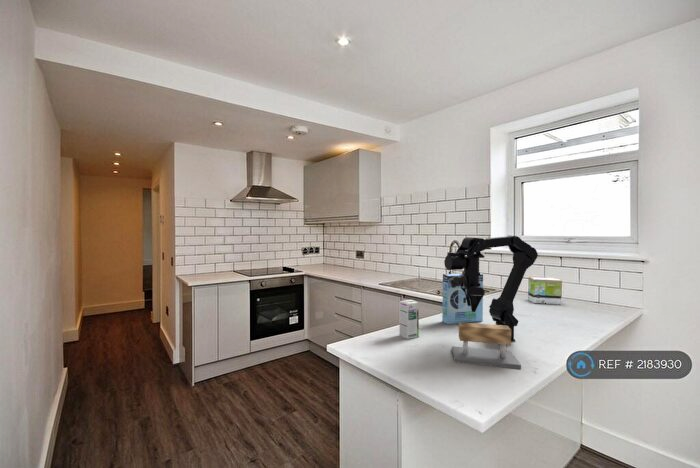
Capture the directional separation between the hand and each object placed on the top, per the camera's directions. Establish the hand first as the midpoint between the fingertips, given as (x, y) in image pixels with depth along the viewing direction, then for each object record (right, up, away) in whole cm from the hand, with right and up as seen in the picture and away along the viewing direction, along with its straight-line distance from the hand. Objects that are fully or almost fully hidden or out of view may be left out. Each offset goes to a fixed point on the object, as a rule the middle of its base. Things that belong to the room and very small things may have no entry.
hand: (471, 308), depth 126 cm
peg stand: (-2, -13, -16) cm, 21 cm away
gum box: (+6, -13, +27) cm, 31 cm away
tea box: (+70, -12, +68) cm, 99 cm away
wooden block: (-2, -7, -16) cm, 18 cm away
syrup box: (-24, -13, +6) cm, 27 cm away
